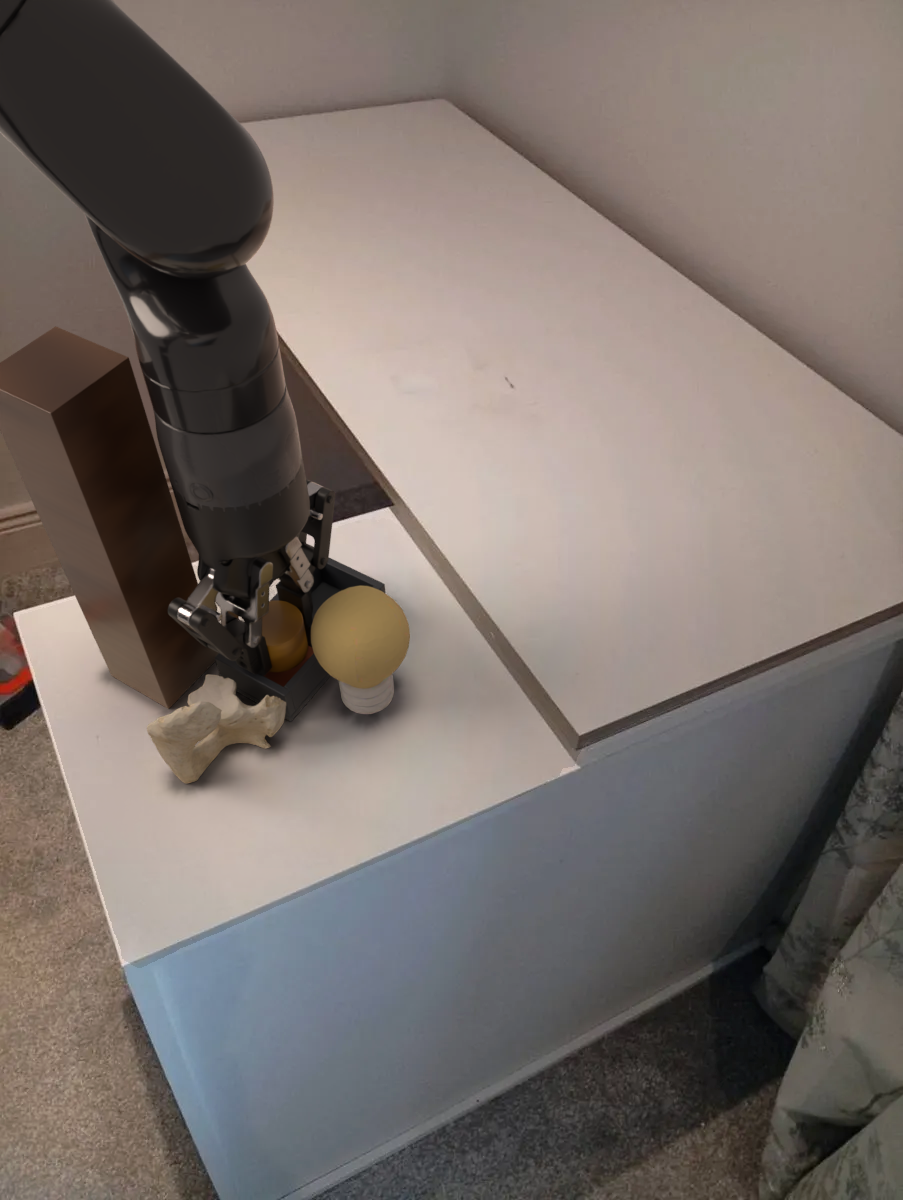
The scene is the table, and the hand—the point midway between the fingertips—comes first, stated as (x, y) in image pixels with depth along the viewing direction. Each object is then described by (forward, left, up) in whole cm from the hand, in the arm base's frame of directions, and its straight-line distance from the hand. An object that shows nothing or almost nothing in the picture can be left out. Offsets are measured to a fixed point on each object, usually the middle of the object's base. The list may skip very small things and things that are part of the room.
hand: (277, 644), depth 68 cm
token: (0, 0, -1) cm, 1 cm away
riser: (-4, +8, -3) cm, 9 cm away
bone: (-7, 0, -3) cm, 7 cm away
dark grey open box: (+3, 0, -3) cm, 4 cm away
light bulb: (+1, -6, -3) cm, 7 cm away
